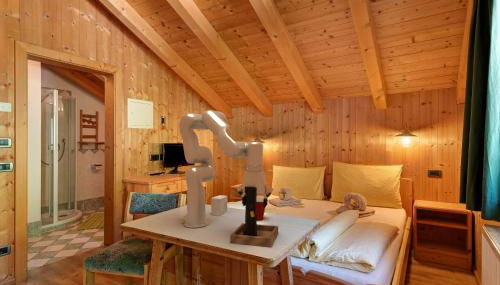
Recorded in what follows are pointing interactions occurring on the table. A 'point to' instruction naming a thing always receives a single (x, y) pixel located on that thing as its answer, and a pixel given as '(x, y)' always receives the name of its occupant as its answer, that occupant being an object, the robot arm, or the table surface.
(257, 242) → the wooden tray
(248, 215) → the portable radio
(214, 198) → the skincare box
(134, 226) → the table surface
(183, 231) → the table surface
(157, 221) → the table surface
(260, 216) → the plastic cup
